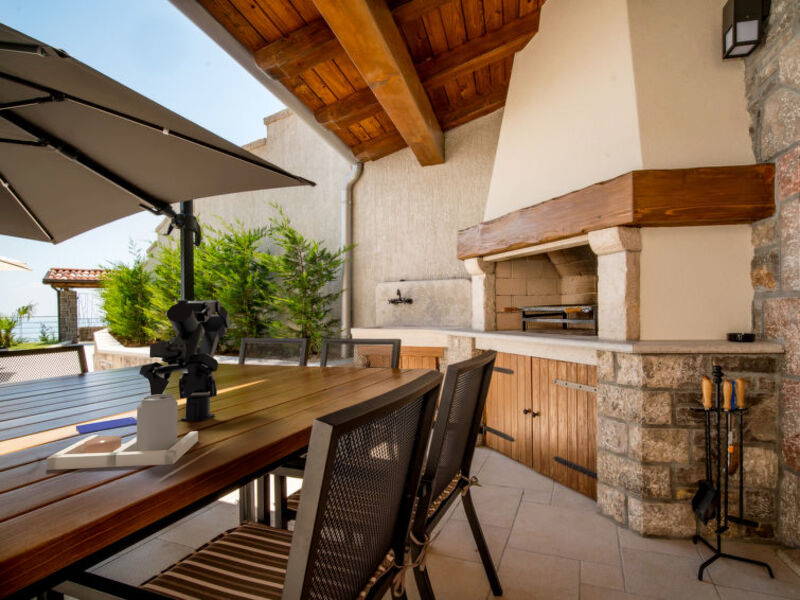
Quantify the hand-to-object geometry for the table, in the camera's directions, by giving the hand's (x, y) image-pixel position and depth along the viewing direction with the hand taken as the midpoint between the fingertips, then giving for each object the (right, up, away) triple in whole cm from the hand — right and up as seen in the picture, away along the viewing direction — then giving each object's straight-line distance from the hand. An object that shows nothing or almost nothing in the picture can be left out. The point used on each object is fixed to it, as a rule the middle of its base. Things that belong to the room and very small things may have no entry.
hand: (169, 400), depth 95 cm
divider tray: (-3, -9, -10) cm, 14 cm away
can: (+2, -9, -9) cm, 13 cm away
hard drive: (-22, -10, +10) cm, 26 cm away
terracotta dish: (-8, -9, -11) cm, 16 cm away
